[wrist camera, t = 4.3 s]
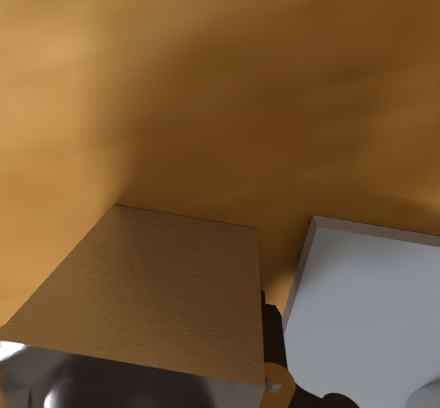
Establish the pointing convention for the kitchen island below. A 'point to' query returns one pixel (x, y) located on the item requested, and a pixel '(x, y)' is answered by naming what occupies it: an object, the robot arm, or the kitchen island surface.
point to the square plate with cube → (366, 315)
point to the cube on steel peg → (144, 318)
